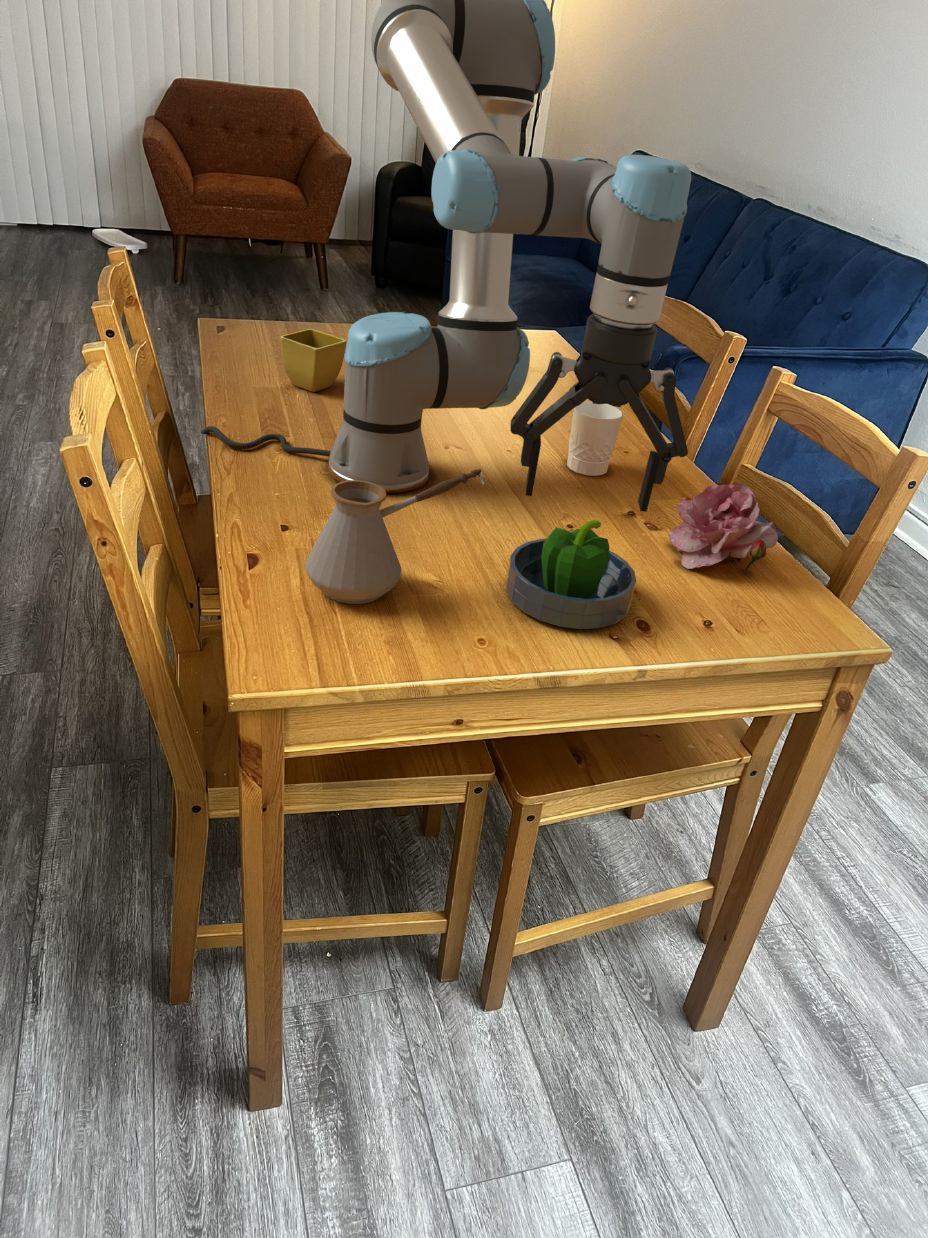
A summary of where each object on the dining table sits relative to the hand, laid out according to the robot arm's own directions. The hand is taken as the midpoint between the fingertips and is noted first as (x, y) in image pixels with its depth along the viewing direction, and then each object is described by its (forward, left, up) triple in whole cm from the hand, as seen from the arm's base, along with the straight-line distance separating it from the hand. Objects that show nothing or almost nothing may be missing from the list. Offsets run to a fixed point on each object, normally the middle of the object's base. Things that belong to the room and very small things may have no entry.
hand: (585, 499), depth 111 cm
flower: (+22, +17, -14) cm, 31 cm away
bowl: (0, 0, -14) cm, 14 cm away
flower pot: (-45, +66, -14) cm, 81 cm away
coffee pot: (-22, -2, -14) cm, 26 cm away
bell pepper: (0, 0, -13) cm, 13 cm away
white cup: (+5, +44, -14) cm, 46 cm away
